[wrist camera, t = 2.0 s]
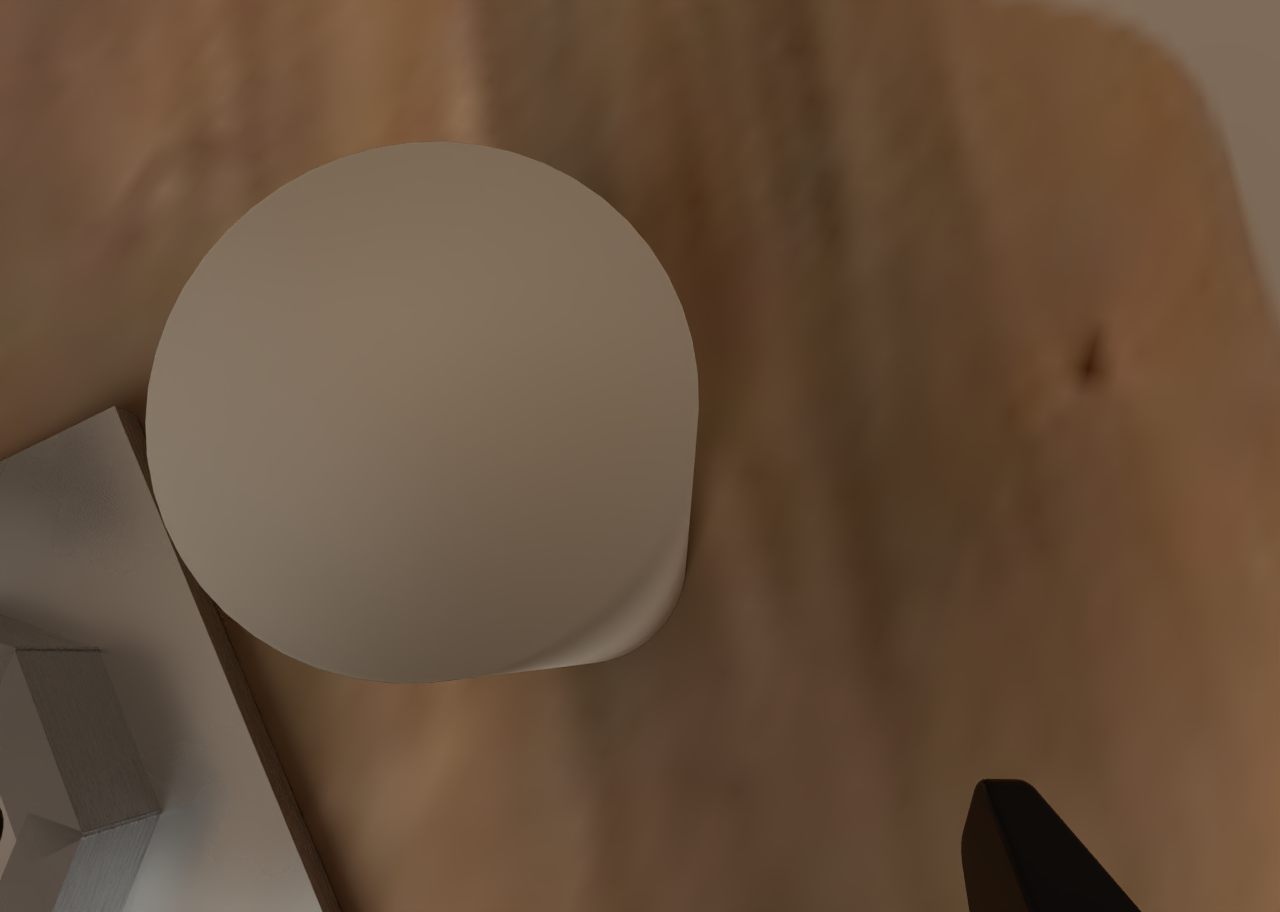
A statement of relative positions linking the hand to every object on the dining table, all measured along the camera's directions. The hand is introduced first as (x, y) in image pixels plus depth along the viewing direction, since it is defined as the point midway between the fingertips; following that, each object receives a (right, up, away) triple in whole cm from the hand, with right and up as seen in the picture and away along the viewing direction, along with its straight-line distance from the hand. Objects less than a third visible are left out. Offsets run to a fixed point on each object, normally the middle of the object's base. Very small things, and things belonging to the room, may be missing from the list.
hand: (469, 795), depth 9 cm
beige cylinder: (0, +1, +11) cm, 11 cm away
